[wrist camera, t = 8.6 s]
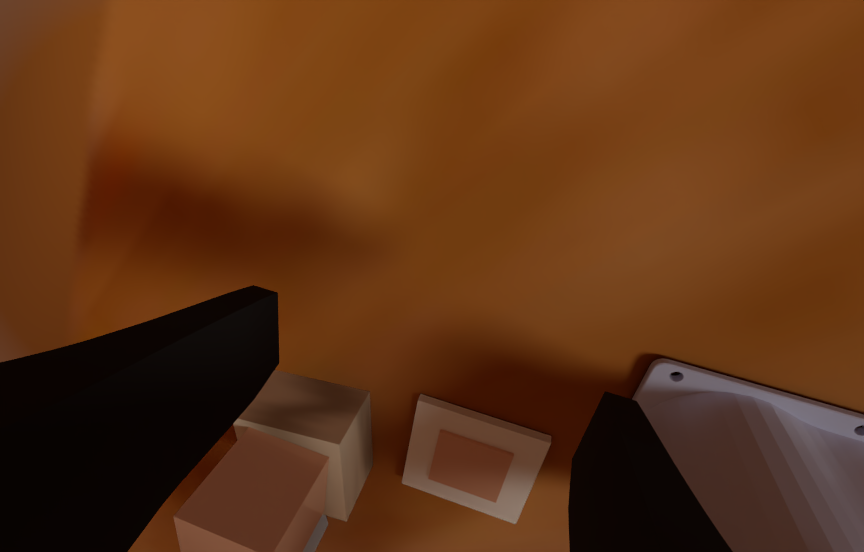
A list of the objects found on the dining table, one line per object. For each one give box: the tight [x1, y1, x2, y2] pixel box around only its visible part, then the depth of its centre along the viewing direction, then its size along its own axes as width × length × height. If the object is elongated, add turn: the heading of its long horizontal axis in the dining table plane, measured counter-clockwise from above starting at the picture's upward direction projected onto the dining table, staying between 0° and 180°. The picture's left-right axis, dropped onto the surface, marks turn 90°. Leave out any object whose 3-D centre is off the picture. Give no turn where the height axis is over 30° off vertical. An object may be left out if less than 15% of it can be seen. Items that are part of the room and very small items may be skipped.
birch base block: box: [233, 370, 373, 522], centre depth 25 cm, size 6×6×4 cm
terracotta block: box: [174, 427, 329, 552], centre depth 21 cm, size 4×4×5 cm
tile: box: [402, 394, 551, 524], centre depth 24 cm, size 7×7×1 cm
